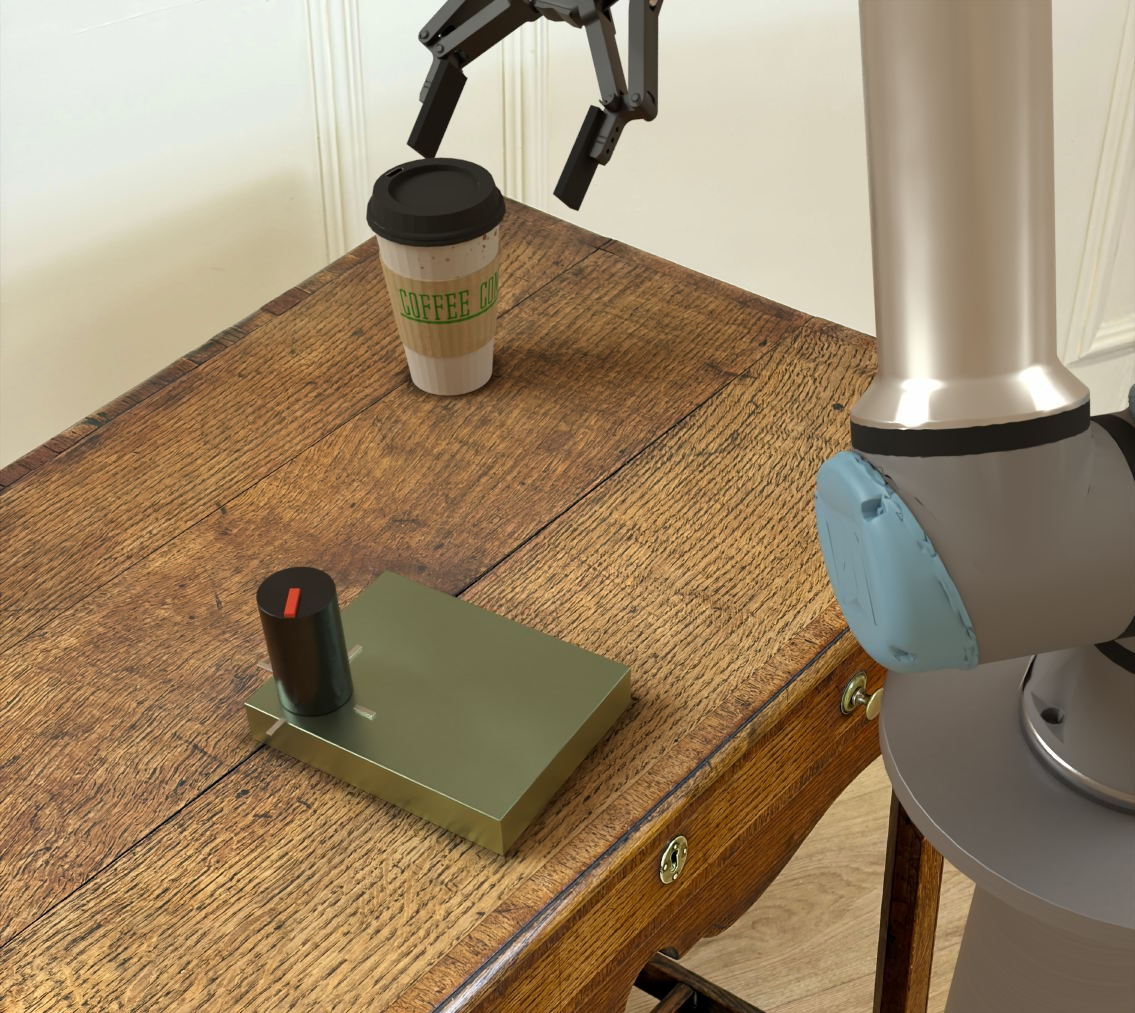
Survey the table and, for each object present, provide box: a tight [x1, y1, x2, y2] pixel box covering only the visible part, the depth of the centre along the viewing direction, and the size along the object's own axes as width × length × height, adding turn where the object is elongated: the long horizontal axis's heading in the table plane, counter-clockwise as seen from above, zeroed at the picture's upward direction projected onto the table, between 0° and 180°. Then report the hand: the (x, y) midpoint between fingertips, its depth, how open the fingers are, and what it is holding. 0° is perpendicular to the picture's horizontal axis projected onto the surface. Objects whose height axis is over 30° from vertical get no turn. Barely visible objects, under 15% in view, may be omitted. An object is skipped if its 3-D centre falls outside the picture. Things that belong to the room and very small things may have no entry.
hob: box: [243, 569, 632, 857], centre depth 94 cm, size 19×15×3 cm
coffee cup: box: [365, 157, 507, 397], centre depth 116 cm, size 10×10×15 cm
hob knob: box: [255, 566, 353, 716], centre depth 90 cm, size 4×4×8 cm
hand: (490, 177), depth 115 cm, fingers open, 13 cm apart
